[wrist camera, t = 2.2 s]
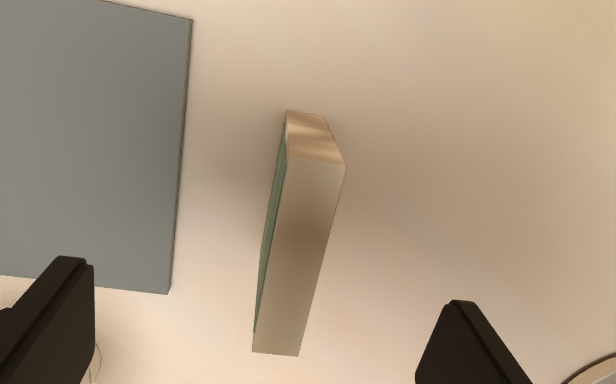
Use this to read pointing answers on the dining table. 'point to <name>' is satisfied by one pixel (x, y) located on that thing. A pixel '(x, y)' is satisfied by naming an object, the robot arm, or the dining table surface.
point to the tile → (296, 232)
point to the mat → (91, 138)
